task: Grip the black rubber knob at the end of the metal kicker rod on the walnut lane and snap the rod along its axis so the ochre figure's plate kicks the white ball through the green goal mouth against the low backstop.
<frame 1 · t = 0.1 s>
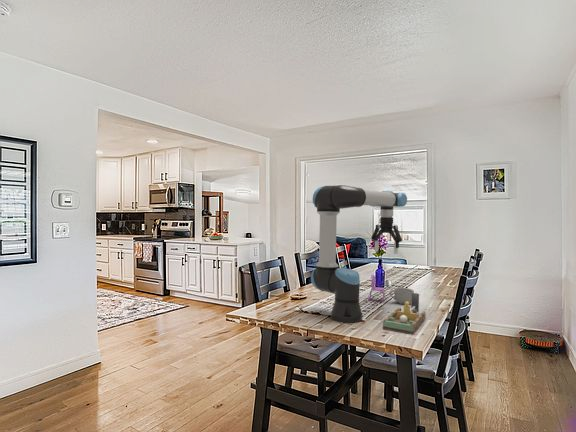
hand: (385, 252, 220), 28 cm above the table, fingers open, 13 cm apart
lane: (405, 323, 172), on the table
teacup: (401, 303, 212), on the table
ball: (403, 319, 169), point 3 cm above the table, touching lane
kicker: (411, 306, 183), point 6 cm above the table, slide at 0.0 cm
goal: (399, 329, 164), resting on lane
chair: (376, 301, 217), on the table
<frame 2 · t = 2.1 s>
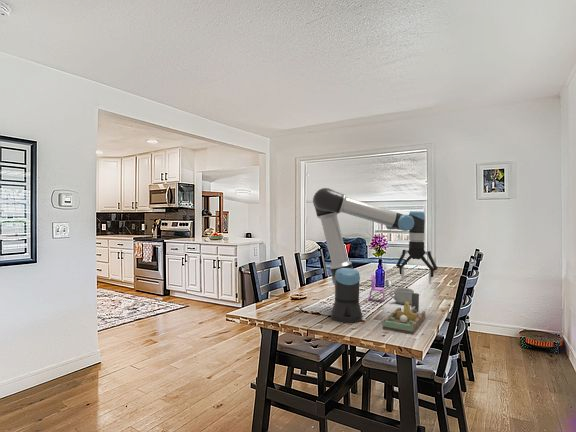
hand: (416, 282, 191), 16 cm above the table, fingers open, 13 cm apart
nothing on the table moved.
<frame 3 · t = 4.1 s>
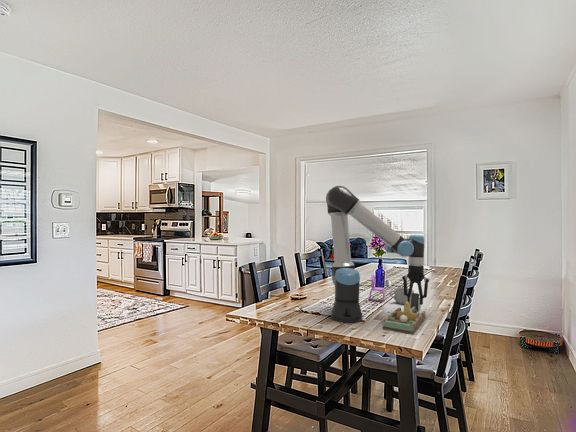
hand: (414, 310, 191), 2 cm above the table, fingers closed on kicker, 4 cm apart
kicker: (411, 306, 183), point 5 cm above the table, slide at 0.0 cm, touching gripper
everything else where it was.
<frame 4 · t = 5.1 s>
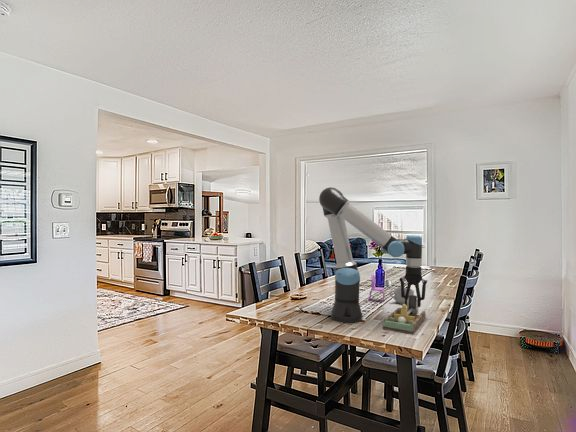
hand: (412, 312, 186), 2 cm above the table, fingers closed on kicker, 4 cm apart
ball: (401, 320, 166), point 3 cm above the table, tilted 103°, touching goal
kicker: (408, 308, 178), point 6 cm above the table, slide at 5.7 cm, touching gripper, lane
everything else where it was.
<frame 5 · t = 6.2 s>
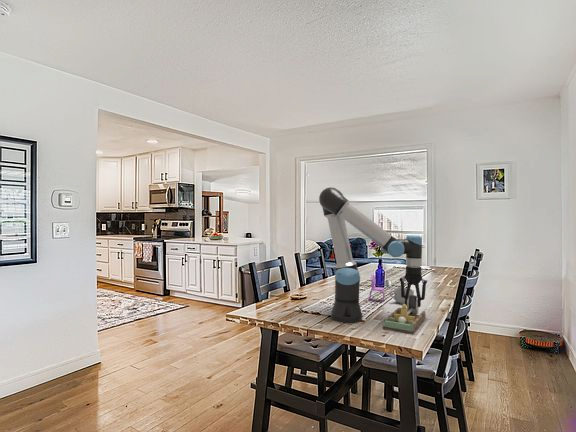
hand: (412, 312, 186), 2 cm above the table, fingers closed on kicker, 4 cm apart
ball: (402, 320, 167), point 3 cm above the table, tilted 84°, touching lane
kicker: (408, 308, 178), point 5 cm above the table, slide at 5.7 cm, touching gripper, lane
everything else where it was.
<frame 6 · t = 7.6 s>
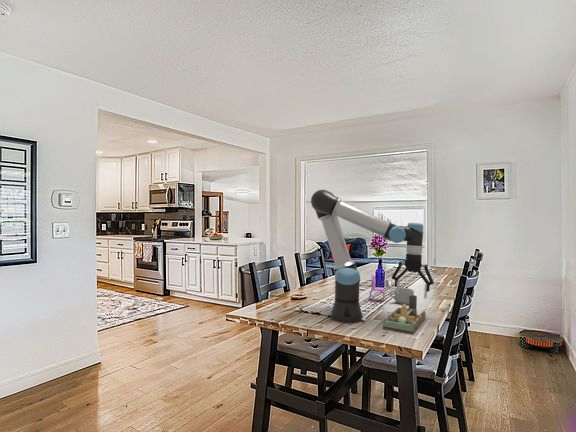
hand: (411, 295, 186), 10 cm above the table, fingers open, 13 cm apart
ball: (402, 320, 167), point 3 cm above the table, tilted 73°, touching lane
kicker: (408, 308, 178), point 6 cm above the table, slide at 5.7 cm, touching lane
everything else where it was.
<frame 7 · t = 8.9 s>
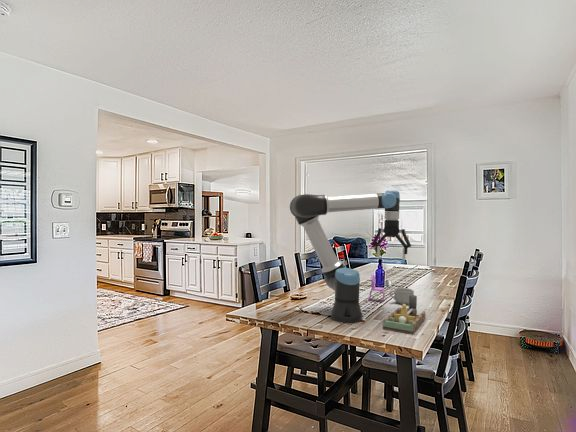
hand: (390, 259, 197), 27 cm above the table, fingers open, 13 cm apart
ball: (402, 320, 167), point 3 cm above the table, tilted 58°, touching lane
everything else where it was.
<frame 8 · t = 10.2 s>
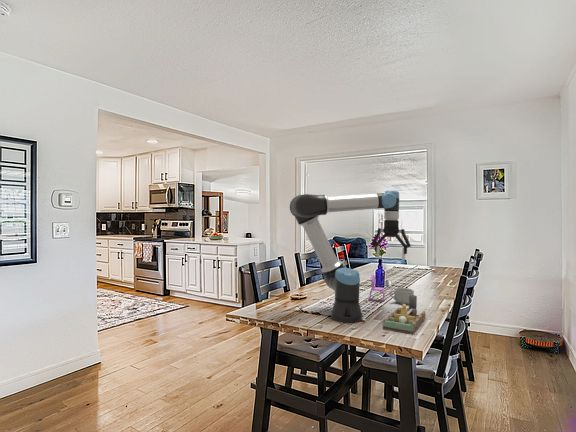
hand: (390, 259, 198), 27 cm above the table, fingers open, 13 cm apart
ball: (402, 319, 168), point 3 cm above the table, tilted 43°, touching lane
everything else where it was.
at the end: ball inside the target area on the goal (4.0 cm from its centre), point 2.9 cm above the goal's base; kicker slide at 5.7 cm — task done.
